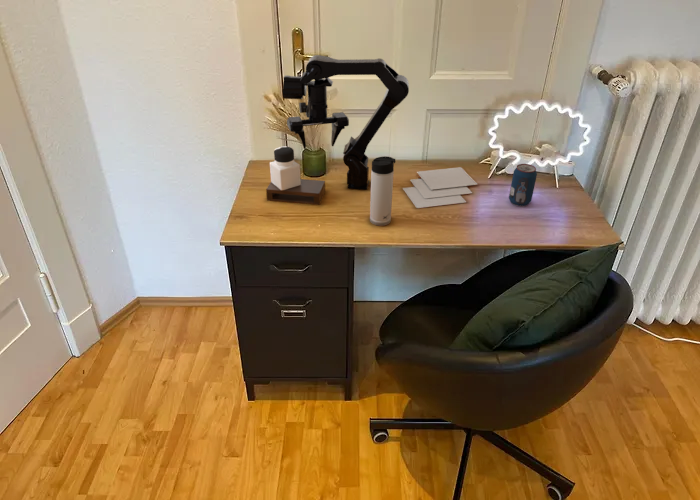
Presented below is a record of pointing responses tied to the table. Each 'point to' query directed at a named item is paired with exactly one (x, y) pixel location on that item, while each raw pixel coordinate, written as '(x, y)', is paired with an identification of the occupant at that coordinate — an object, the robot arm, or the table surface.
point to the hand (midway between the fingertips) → (318, 147)
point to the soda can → (522, 185)
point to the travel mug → (381, 190)
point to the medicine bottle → (285, 169)
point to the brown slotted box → (298, 192)
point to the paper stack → (439, 187)
